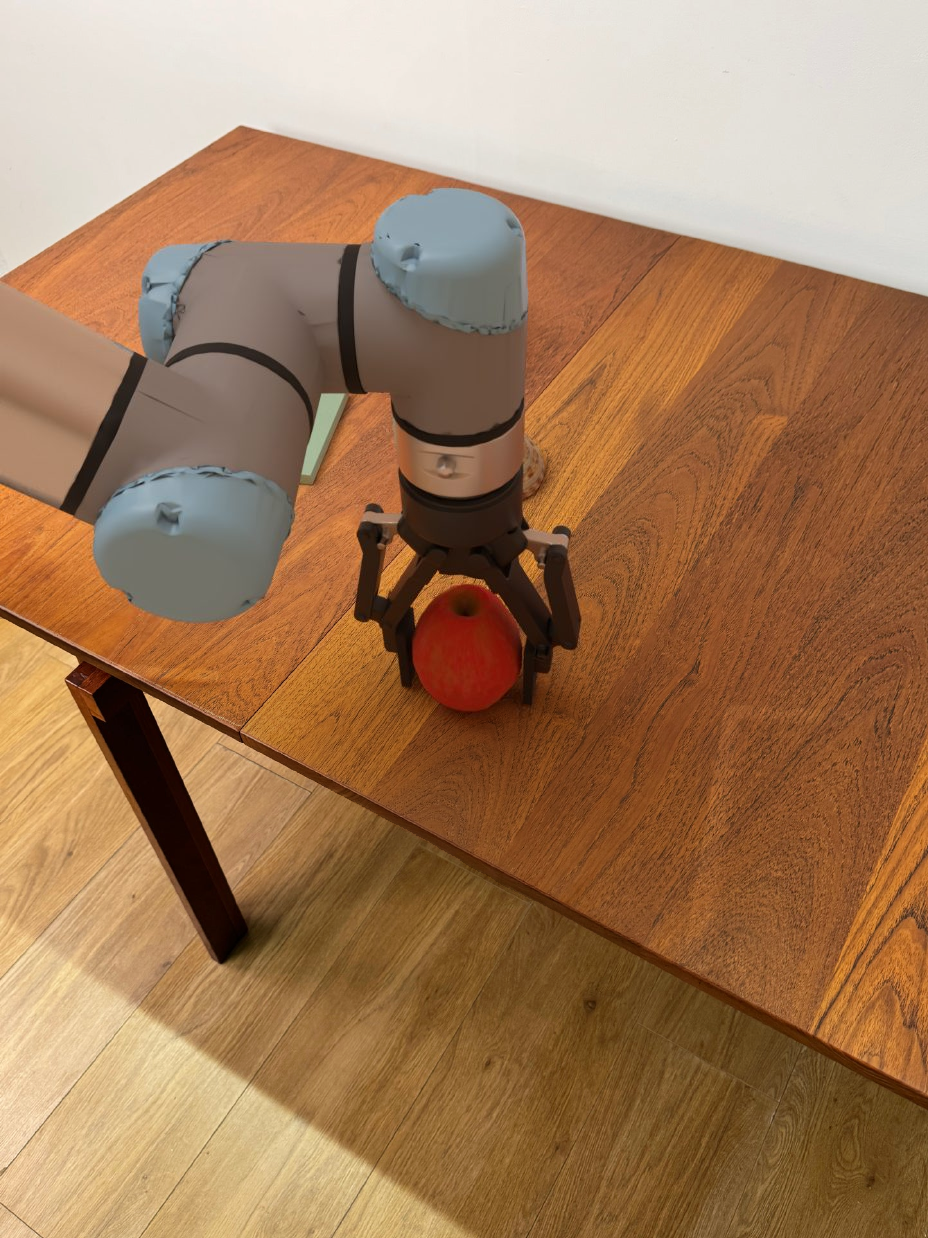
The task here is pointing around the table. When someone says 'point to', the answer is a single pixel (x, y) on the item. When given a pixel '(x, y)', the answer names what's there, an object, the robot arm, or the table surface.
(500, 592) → the robot arm
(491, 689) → the apple
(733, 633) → the table surface
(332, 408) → the scale
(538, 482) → the seashell
